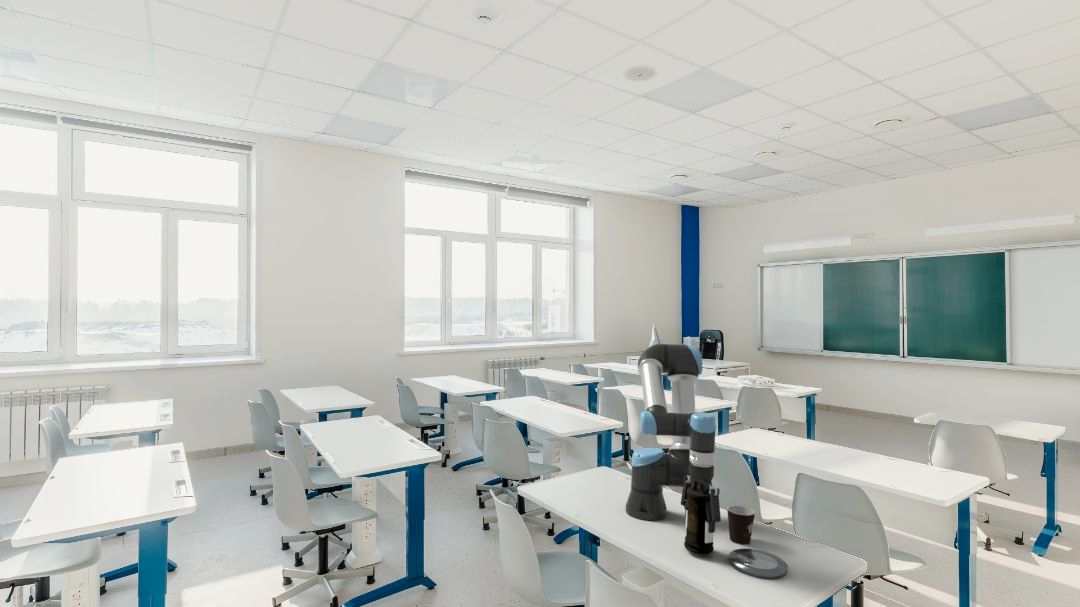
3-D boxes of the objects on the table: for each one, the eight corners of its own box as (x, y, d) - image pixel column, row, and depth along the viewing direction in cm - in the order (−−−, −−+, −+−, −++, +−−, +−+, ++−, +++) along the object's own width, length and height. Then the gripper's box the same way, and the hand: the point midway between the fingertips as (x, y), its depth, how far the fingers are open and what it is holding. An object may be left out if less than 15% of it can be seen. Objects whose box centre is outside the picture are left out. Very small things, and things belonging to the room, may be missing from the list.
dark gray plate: (717, 558, 160) (717, 552, 160) (756, 550, 167) (756, 544, 167) (759, 583, 146) (759, 577, 146) (799, 573, 152) (799, 567, 152)
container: (694, 539, 170) (696, 484, 170) (719, 549, 163) (721, 492, 163) (678, 546, 165) (680, 489, 165) (702, 557, 158) (705, 498, 158)
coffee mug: (736, 547, 168) (737, 516, 169) (720, 536, 177) (721, 506, 177) (767, 544, 172) (768, 513, 172) (750, 533, 180) (751, 504, 180)
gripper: (670, 455, 172) (668, 524, 172) (716, 475, 153) (713, 553, 153) (688, 453, 175) (686, 521, 175) (735, 472, 156) (733, 548, 156)
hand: (699, 536), depth 164 cm, fingers closed on container, 8 cm apart
